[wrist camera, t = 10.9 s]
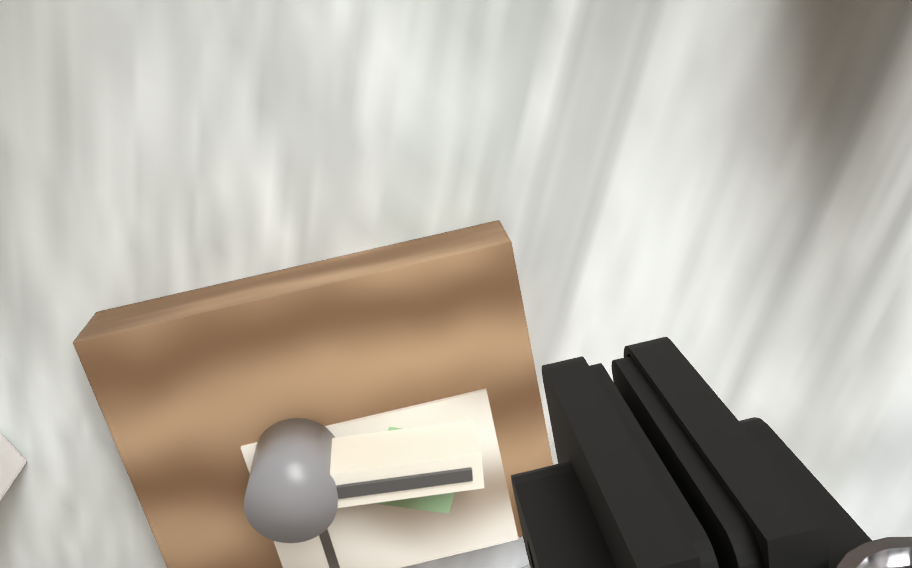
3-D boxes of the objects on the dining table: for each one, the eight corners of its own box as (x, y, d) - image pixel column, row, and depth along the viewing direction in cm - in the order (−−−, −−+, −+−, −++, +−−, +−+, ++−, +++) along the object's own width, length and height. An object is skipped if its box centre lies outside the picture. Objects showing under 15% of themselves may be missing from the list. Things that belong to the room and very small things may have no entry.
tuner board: (96, 311, 40) (70, 344, 36) (499, 220, 40) (512, 243, 37) (200, 570, 45) (187, 619, 42) (549, 486, 46) (565, 528, 43)
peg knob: (262, 495, 40) (252, 549, 36) (248, 423, 38) (236, 472, 35) (476, 466, 41) (488, 516, 37) (470, 395, 39) (481, 440, 35)
